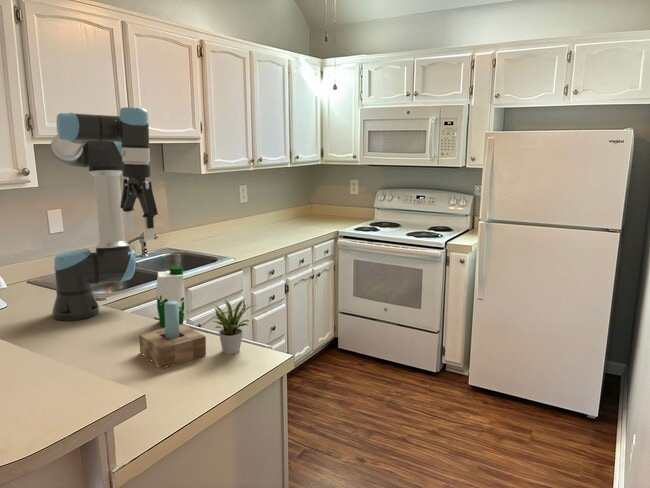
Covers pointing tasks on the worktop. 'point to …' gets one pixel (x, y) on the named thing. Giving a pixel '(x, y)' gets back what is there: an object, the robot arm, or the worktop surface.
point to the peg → (171, 320)
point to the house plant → (231, 328)
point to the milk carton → (170, 291)
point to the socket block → (172, 346)
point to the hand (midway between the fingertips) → (139, 236)
